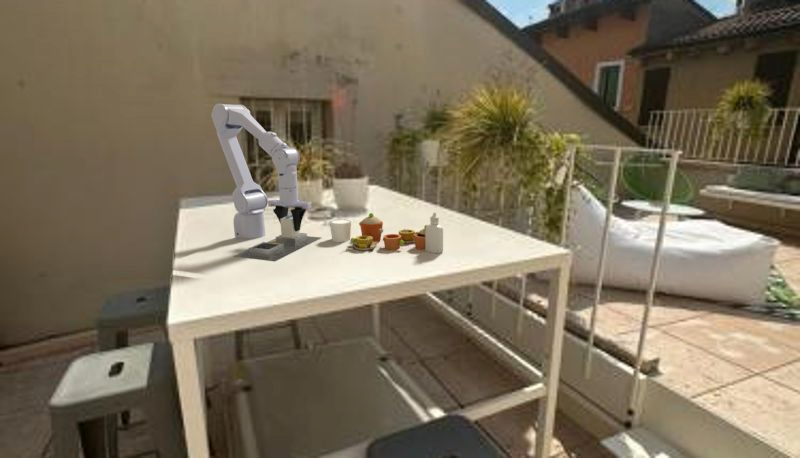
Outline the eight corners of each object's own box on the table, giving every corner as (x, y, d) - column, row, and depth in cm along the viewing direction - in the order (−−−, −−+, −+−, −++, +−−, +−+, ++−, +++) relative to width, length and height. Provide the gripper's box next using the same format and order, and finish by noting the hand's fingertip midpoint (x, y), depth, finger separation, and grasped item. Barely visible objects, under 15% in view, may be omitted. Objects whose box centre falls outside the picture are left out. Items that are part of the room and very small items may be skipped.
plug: (281, 240, 134) (280, 216, 132) (289, 237, 138) (287, 213, 136) (292, 241, 133) (291, 217, 131) (299, 238, 137) (298, 214, 135)
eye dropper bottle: (437, 248, 131) (438, 210, 129) (444, 253, 126) (445, 213, 123) (424, 249, 130) (424, 211, 127) (430, 254, 125) (430, 214, 122)
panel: (233, 259, 121) (232, 249, 120) (285, 237, 145) (285, 228, 144) (275, 264, 117) (274, 254, 116) (322, 240, 140) (321, 231, 140)
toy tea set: (349, 252, 129) (348, 221, 126) (355, 238, 144) (354, 210, 141) (435, 252, 128) (436, 221, 126) (432, 238, 143) (433, 210, 141)
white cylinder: (348, 245, 134) (347, 224, 133) (327, 244, 136) (326, 223, 134) (354, 240, 141) (354, 219, 139) (335, 239, 142) (334, 218, 140)
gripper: (260, 188, 130) (264, 231, 134) (301, 190, 126) (304, 234, 129) (274, 185, 137) (277, 226, 140) (313, 187, 132) (316, 229, 136)
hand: (291, 230), depth 135 cm, fingers closed on plug, 4 cm apart
